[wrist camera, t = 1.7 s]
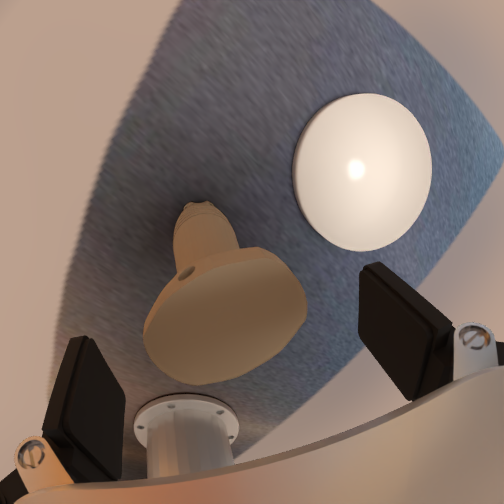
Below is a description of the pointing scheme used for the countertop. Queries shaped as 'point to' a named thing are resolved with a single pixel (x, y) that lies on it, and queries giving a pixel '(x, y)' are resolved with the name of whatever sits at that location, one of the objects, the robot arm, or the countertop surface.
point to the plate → (362, 171)
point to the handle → (220, 303)
